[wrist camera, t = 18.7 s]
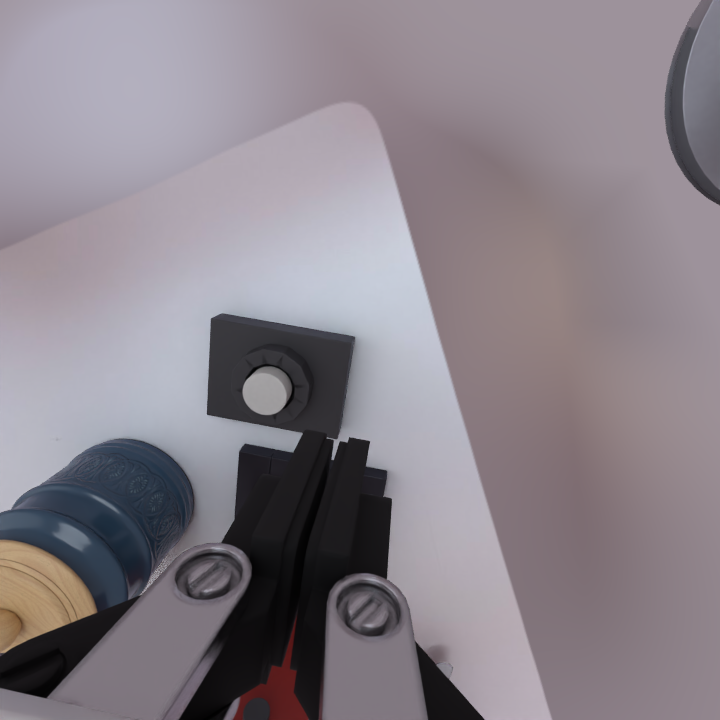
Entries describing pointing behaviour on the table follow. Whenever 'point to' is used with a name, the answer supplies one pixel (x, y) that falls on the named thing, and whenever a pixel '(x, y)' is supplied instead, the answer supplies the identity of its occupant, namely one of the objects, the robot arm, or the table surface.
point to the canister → (88, 537)
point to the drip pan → (275, 463)
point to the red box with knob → (273, 695)
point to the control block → (291, 355)
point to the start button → (267, 390)
